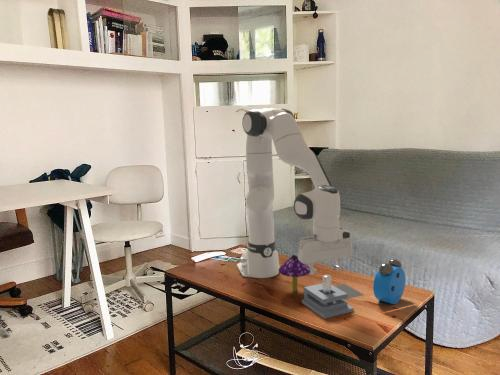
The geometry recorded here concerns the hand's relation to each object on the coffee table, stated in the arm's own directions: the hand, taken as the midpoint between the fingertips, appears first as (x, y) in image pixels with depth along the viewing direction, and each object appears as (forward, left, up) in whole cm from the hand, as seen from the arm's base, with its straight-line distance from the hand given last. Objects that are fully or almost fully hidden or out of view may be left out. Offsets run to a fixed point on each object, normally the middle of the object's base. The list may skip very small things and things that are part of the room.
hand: (325, 272), depth 139 cm
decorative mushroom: (-17, -2, -13) cm, 21 cm away
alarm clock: (+7, +23, -13) cm, 27 cm away
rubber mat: (-8, +13, -13) cm, 20 cm away
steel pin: (0, +1, -12) cm, 11 cm away
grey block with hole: (0, +1, -13) cm, 13 cm away
